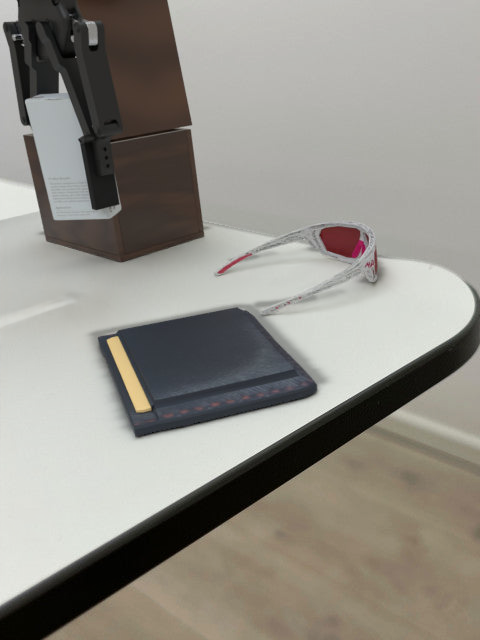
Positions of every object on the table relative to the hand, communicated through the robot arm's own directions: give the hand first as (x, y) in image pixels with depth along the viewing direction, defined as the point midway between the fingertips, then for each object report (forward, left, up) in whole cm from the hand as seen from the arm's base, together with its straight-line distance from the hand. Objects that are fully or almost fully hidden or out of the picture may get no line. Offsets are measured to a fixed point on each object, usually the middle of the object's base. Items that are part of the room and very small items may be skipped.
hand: (84, 201), depth 79 cm
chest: (-19, +16, -11) cm, 27 cm away
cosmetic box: (0, 0, -2) cm, 2 cm away
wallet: (+22, -5, -11) cm, 25 cm away
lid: (-11, +16, +13) cm, 24 cm away
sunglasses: (+14, +17, -11) cm, 25 cm away
